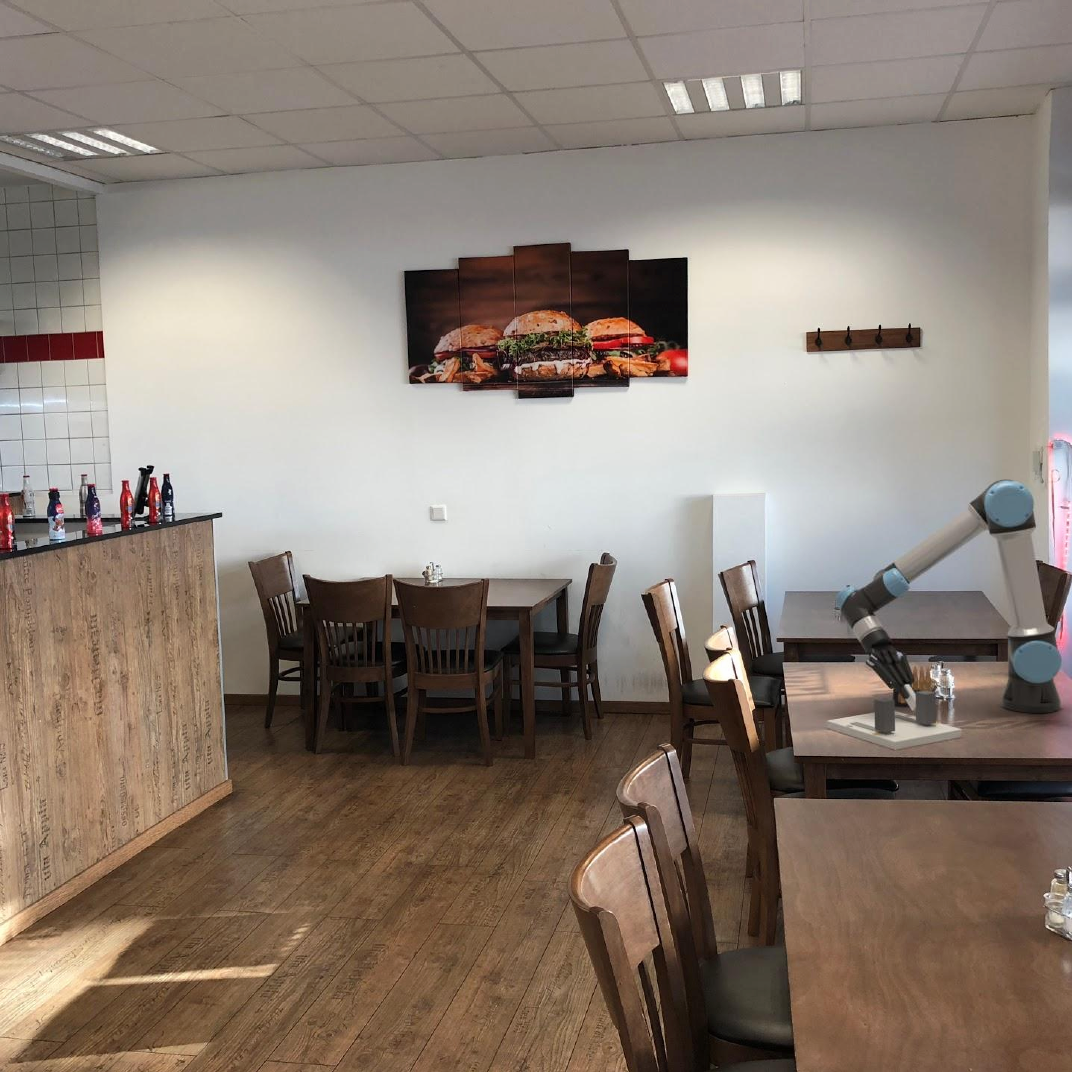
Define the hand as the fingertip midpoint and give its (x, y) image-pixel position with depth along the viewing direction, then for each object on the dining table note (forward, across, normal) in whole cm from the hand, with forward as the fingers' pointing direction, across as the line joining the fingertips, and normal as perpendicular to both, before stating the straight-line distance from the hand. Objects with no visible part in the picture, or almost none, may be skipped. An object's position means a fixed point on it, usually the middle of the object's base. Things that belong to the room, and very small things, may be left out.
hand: (917, 707), depth 295 cm
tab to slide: (+5, 0, 0) cm, 5 cm away
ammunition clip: (-10, -17, -19) cm, 27 cm away
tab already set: (+5, +14, 0) cm, 15 cm away
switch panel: (+3, +7, -5) cm, 9 cm away
